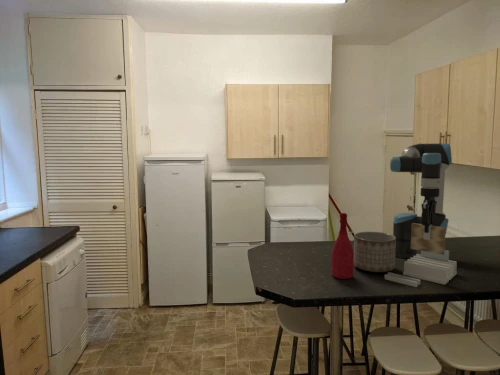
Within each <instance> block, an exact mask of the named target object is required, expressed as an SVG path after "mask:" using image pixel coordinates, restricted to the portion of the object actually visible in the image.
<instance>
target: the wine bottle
mask: <svg viewBox="0 0 500 375" xmlns="http://www.w3.org/2000/svg"><path fill="white" fill-rule="evenodd" d="M347 223H348V214H347V213H345V212H342V213H341V212H340V213H339V224H340V228H339V232H338V234H337V235H338V236H337V237H336V240H335V241H334V245H333V247H332V250H331V275H332V276H333V277H334V278H336V279H340V280H348V279H351V278H353V275H354V247H353V245H352V243H351V240H350V237H349V235H348V234H349V233H348V231H347Z"/></svg>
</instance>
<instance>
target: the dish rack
mask: <svg viewBox="0 0 500 375" xmlns="http://www.w3.org/2000/svg"><path fill="white" fill-rule="evenodd" d="M403 263H404V264H403V272H402V276H406V277H410V278H415V279H419V280H423V281H428V282H432V283H437V284H441V285H447V284H448V283H449V280H450V281H451V280H452V279H453V278H454V277H455V276H456V275H457V264H458V263H457V261H455V260H450V250H447V249H445V251H444V255H442V254H437V253H431V252H426V251H421V250H420V253H419V254H416V256H413V258H412V257H411V258H407V260H405V261H404V262H403Z"/></svg>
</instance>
